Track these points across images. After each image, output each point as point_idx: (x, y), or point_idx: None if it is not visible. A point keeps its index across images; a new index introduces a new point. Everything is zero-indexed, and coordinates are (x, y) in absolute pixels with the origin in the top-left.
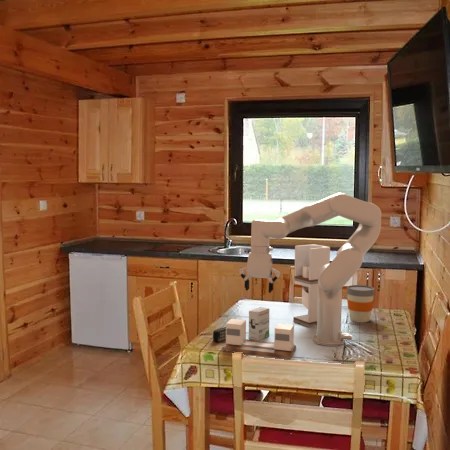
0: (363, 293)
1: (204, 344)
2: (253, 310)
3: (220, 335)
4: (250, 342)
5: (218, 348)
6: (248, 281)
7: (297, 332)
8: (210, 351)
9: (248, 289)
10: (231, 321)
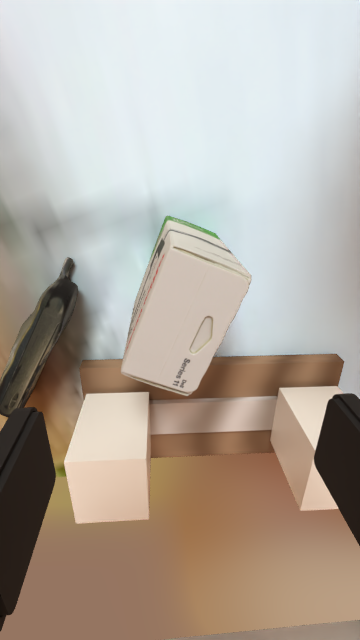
0: None
1: (3, 418)
2: (148, 359)
3: (31, 389)
4: (175, 411)
5: (71, 435)
6: (2, 568)
7: (357, 117)
8: (60, 463)
9: (47, 436)
10: (86, 496)
